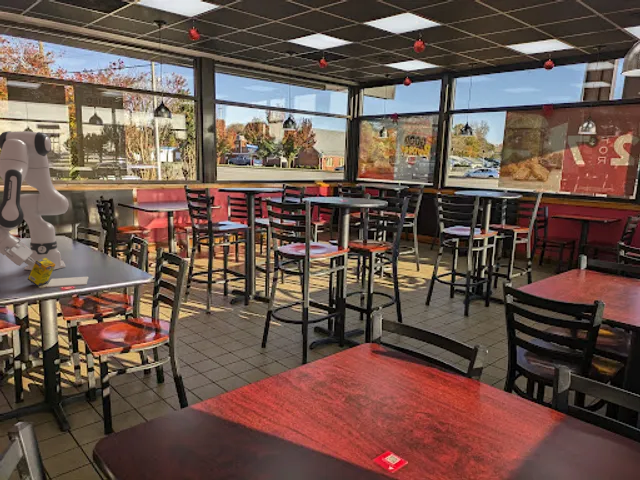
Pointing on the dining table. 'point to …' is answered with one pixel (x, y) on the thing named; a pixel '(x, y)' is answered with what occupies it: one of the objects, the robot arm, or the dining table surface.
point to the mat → (67, 282)
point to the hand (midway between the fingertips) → (35, 265)
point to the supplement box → (41, 272)
